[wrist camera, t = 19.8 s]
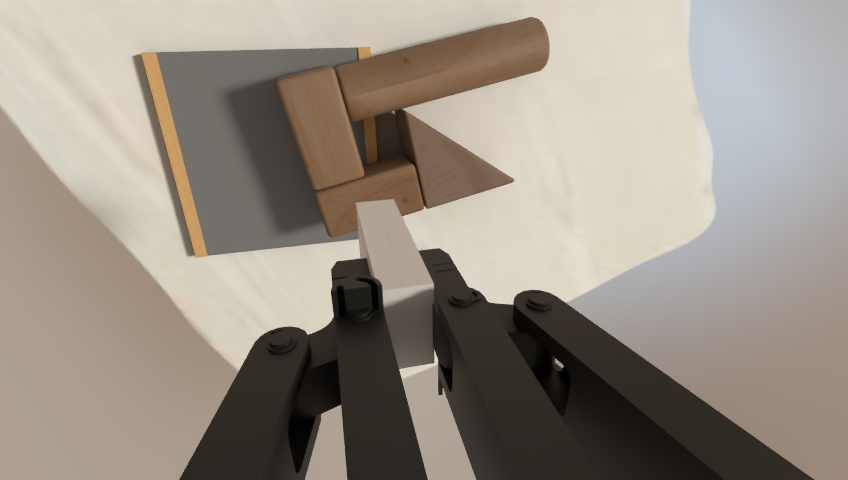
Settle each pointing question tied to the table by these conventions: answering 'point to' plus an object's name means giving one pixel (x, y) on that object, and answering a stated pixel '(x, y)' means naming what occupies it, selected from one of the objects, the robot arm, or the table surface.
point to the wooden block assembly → (402, 120)
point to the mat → (243, 146)
